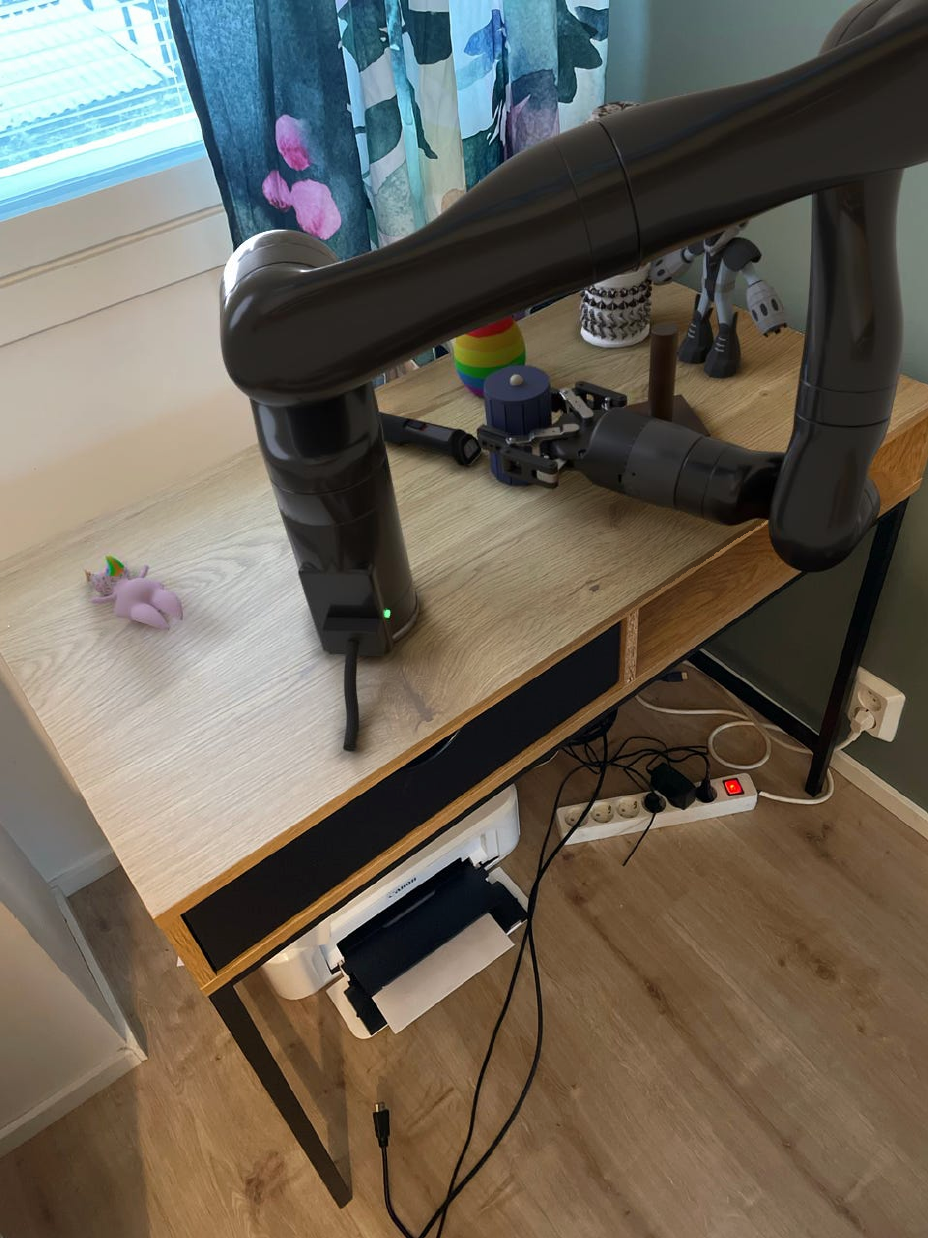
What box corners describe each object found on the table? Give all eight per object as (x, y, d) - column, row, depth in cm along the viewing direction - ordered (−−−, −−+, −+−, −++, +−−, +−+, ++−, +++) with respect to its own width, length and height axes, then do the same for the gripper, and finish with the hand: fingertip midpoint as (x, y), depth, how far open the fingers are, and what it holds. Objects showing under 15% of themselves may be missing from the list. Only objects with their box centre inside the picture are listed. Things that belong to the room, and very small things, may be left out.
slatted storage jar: (551, 485, 91) (547, 393, 83) (488, 485, 92) (478, 394, 84) (555, 448, 95) (551, 357, 88) (495, 449, 96) (487, 358, 89)
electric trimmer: (369, 420, 103) (363, 396, 101) (484, 450, 96) (481, 425, 94) (350, 438, 101) (344, 414, 99) (466, 470, 94) (462, 445, 92)
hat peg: (709, 445, 93) (721, 339, 84) (635, 461, 92) (639, 356, 84) (680, 405, 98) (688, 302, 90) (610, 420, 98) (612, 317, 89)
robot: (789, 386, 99) (822, 199, 85) (757, 402, 97) (786, 215, 83) (666, 324, 111) (677, 151, 97) (636, 337, 109) (642, 165, 95)
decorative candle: (667, 335, 109) (682, 109, 91) (599, 356, 107) (600, 130, 89) (630, 305, 115) (637, 88, 97) (565, 324, 113) (560, 107, 96)
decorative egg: (535, 395, 103) (531, 313, 96) (466, 410, 102) (457, 329, 95) (516, 360, 109) (511, 281, 101) (451, 374, 108) (441, 295, 101)
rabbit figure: (81, 604, 88) (153, 659, 78) (51, 556, 84) (121, 606, 74) (136, 570, 91) (211, 618, 81) (109, 521, 87) (184, 566, 77)
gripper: (687, 386, 83) (541, 346, 91) (608, 467, 76) (456, 416, 84) (681, 452, 89) (544, 409, 97) (607, 534, 82) (465, 480, 89)
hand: (503, 413), depth 90 cm, fingers open, 8 cm apart
